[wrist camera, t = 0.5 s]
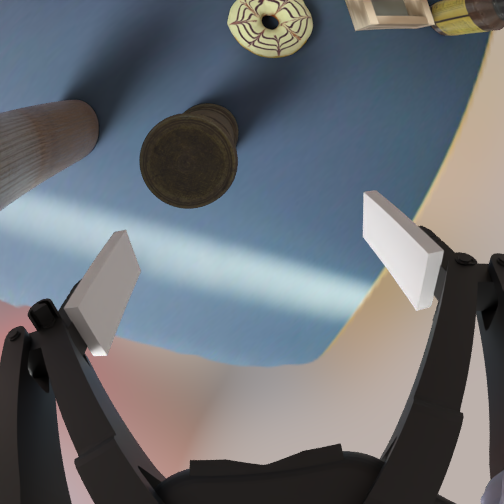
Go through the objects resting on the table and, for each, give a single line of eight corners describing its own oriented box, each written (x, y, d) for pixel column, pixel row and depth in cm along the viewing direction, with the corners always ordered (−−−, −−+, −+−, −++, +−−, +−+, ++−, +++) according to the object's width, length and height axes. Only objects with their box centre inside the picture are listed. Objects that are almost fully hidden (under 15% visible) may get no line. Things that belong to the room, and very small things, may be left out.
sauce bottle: (458, 32, 30) (544, 31, 13) (435, 39, 31) (525, 36, 14) (441, 0, 27) (524, -15, 10) (418, 5, 28) (503, -15, 11)
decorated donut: (258, -19, 28) (260, -28, 25) (321, 21, 31) (329, 16, 28) (214, 32, 32) (212, 26, 29) (279, 72, 35) (283, 70, 32)
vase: (71, 86, 33) (-76, 114, 9) (112, 125, 37) (-24, 186, 13) (38, 136, 36) (-93, 202, 12) (76, 173, 40) (-44, 269, 16)
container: (240, 104, 37) (244, 110, 22) (236, 166, 42) (237, 214, 26) (174, 103, 37) (133, 111, 21) (174, 164, 41) (137, 212, 25)
